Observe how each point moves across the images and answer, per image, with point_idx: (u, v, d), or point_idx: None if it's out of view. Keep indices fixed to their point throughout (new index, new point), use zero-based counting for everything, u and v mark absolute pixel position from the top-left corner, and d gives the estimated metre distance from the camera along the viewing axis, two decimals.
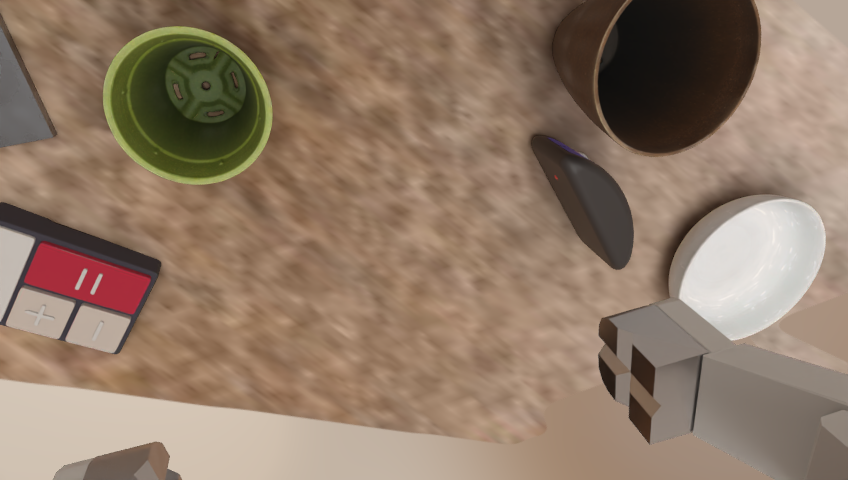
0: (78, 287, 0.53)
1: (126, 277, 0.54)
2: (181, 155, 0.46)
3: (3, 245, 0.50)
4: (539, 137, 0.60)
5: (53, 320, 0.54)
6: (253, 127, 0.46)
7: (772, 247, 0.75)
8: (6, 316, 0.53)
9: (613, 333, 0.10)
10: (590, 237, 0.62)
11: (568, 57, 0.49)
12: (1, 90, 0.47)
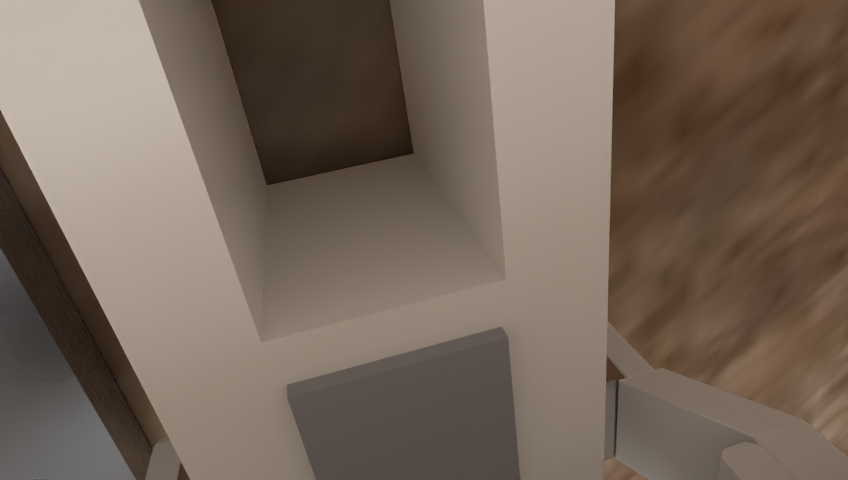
0: None
1: None
2: None
3: None
4: None
5: None
6: None
7: None
8: None
9: None
10: None
11: None
12: None
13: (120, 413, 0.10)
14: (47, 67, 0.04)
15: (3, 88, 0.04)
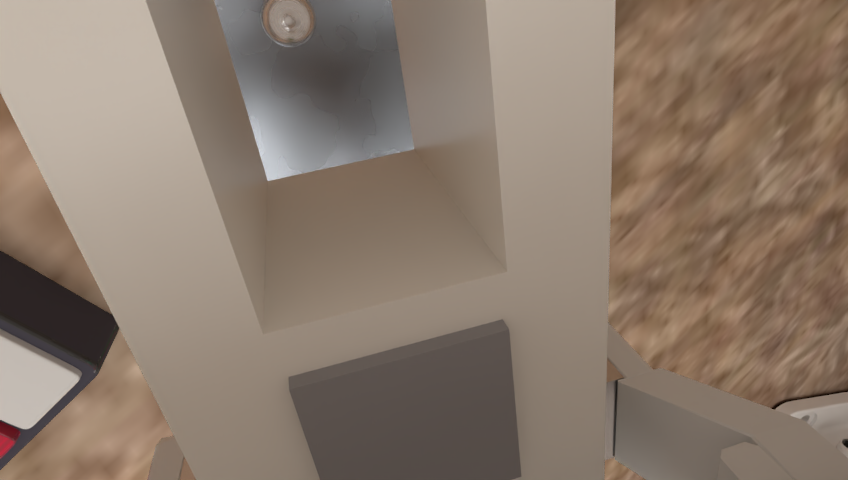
0: None
1: None
2: None
3: (17, 384, 0.22)
4: None
5: None
6: None
7: None
8: None
9: None
10: None
11: None
12: None
13: None
14: (51, 57, 0.04)
15: (7, 77, 0.04)
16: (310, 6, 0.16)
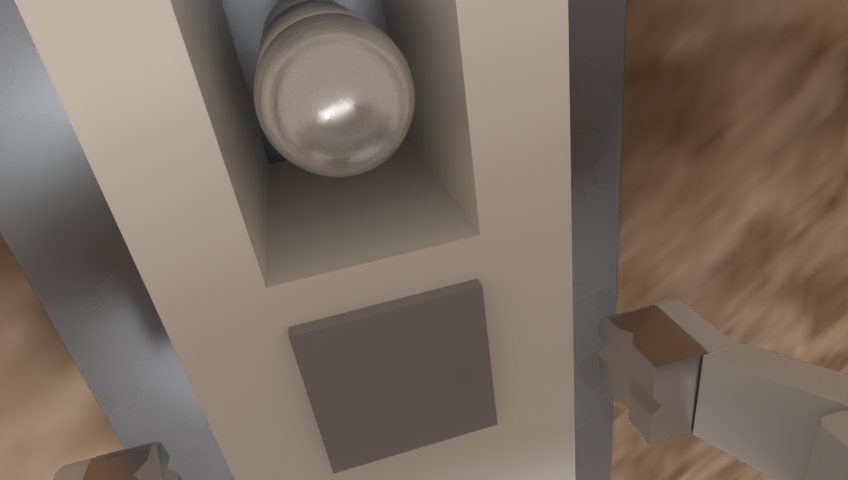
0: None
1: None
2: None
3: None
4: None
5: None
6: None
7: None
8: None
9: (613, 332, 0.10)
10: None
11: None
12: None
13: None
14: (89, 43, 0.05)
15: (53, 60, 0.05)
16: (404, 65, 0.05)
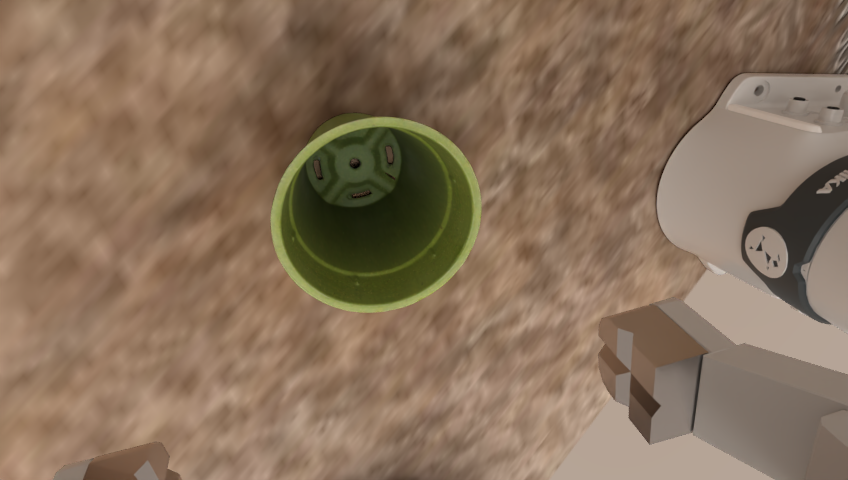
0: None
1: None
2: (296, 178, 0.31)
3: None
4: None
5: None
6: (339, 267, 0.34)
7: None
8: None
9: (613, 333, 0.10)
10: None
11: None
12: None
13: None
14: None
15: None
16: None
